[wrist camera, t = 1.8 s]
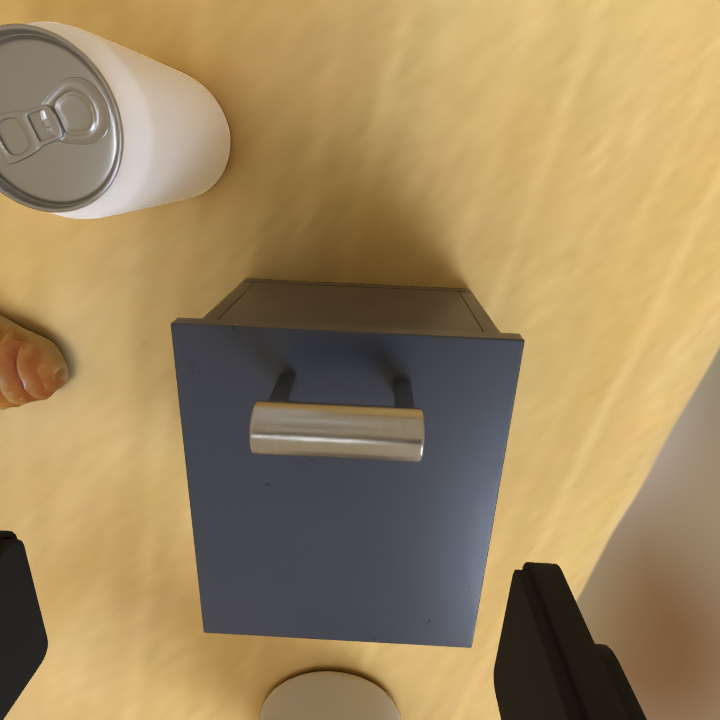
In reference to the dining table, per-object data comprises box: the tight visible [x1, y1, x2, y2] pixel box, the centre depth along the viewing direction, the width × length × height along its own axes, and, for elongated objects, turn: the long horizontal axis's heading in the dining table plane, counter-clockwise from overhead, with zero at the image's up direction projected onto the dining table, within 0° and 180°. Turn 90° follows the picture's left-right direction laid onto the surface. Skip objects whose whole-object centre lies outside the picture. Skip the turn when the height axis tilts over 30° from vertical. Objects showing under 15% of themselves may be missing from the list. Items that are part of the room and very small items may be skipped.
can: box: [0, 21, 230, 219], centre depth 22 cm, size 6×6×12 cm
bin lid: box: [171, 318, 525, 648], centre depth 21 cm, size 16×14×5 cm
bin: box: [203, 279, 500, 333], centre depth 28 cm, size 16×14×11 cm
